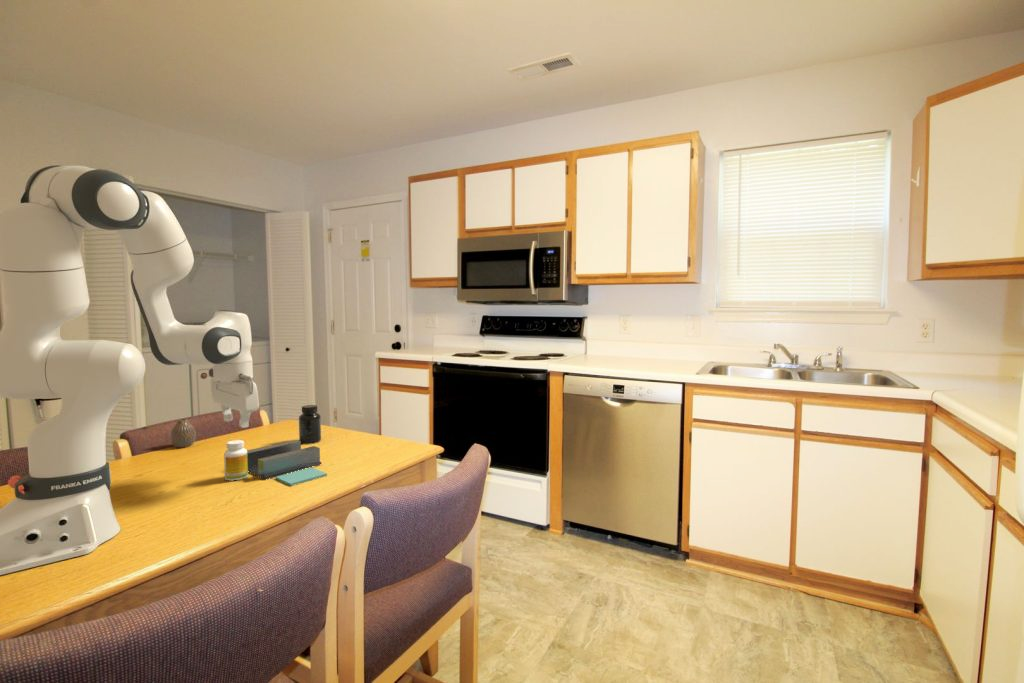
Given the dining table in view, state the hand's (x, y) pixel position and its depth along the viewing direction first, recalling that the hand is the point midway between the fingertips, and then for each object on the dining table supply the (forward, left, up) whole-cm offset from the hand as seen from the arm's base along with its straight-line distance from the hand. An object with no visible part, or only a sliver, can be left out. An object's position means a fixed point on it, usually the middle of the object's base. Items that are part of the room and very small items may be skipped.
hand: (236, 423), depth 130 cm
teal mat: (+11, -13, -14) cm, 22 cm away
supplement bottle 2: (+31, +18, -15) cm, 38 cm away
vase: (+2, +44, -15) cm, 46 cm away
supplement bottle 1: (0, 0, -15) cm, 15 cm away
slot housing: (+12, 0, -14) cm, 19 cm away
